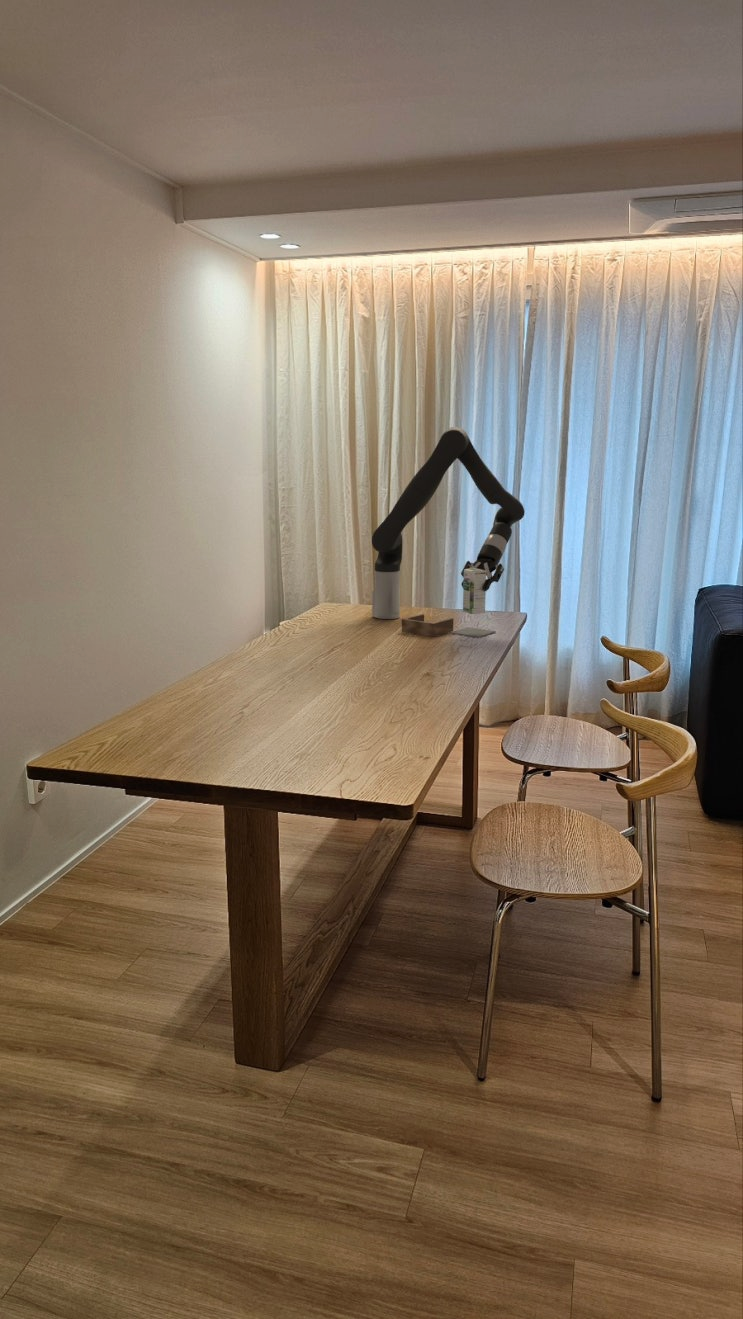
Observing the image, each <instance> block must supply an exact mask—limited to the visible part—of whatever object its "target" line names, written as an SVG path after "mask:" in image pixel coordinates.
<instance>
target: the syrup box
mask: <svg viewBox="0 0 743 1319" xmlns="http://www.w3.org/2000/svg"><path fill="white" fill-rule="evenodd" d="M486 579H487V575H486V570H480V569H475V568H473V567H472V568H471V569H464V578H463V580H464V583H463V587H462V589H463V592H462V612H463V613H467V614H470V615H476V614H477V615H478V614H484V613H486V595H487V593H486V592H487V591H483V589H482V587H483V585H484V583H485V581H486Z"/></svg>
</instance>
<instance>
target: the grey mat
mask: <svg viewBox="0 0 743 1319" xmlns="http://www.w3.org/2000/svg"><path fill="white" fill-rule="evenodd" d="M496 632H497V631H496V630H490V629H485V628H484V629H482V628H477V627H476V628H475V627H469V626H468V627H464V628H461V629H457V630H453V632H450V634H451V633H452V634H451V635H455V634H459V635H458V636H462V635H465V636H464V637H469V636H471V637H470V638H475V637H477V639H480V638H483V637H486V635H487V636H489V634H490V635H492V634H495V633H496ZM479 637H480V638H479Z"/></svg>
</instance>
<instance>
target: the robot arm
mask: <svg viewBox="0 0 743 1319" xmlns="http://www.w3.org/2000/svg"><path fill="white" fill-rule="evenodd" d="M436 444H437V445H436V446H435V448H434V450H433V451H432V453H431V455H430V457H429V458H428V459H427V461H426V462H425V463H424V464H423V465H422V466H421V467H420V469H419V470H417V472H416V473H415V475H414V476H413V477H412V479H411V481H410V482H409V483H408V484H407V486H406V487H405V488H404V491H403V492H402V494H401V495H400V497H399V498H398V499H397V501H396V503H395V504H394V505H393V508H392V510H391V511H390V512H389V514H388V515H387V516H386V518H385V519H384V520H382V522H381V524H380V525H379V526H378V527H376V529H375V531H374V532H373V534H372V537H371V545H372V548H373V549H374V550H375V551H376V552H378V553H377V558H376V561H375V562H374V590H372V595H371V596H372V597H371V601H372V602H371V606H372V607H371V611H372V612H371V613H372V614H371V616H372V617H374V618H376V619H380V620H395V619H399V618H400V617H401V616H400V606H401V604H400V603H401V602H400V601H401V599H400V598H401V596H400V595H401V592H400V591H401V590H400V588H401V580H400V579H401V564H402V560H403V535H402V532H403V530H404V529H405V528H406V526H407V525H409V523H410V522H411V521H412V520H413V519H414V518H415V517H416V516H417V515H419V513H420V512H421V511H422V510H423V509H424V508H425V507H426V506H427V504H428V503H429V502H430V500H431V498H432V497H433V496H434V494H435V493H436V491H438V490H437V489H438V487H439V486H440V484H441V482H442V480H443V478H444V475H446V473H447V471H448V469H450V467H451V466H452V464H454V462H455V461H456V460H457V459H458V461H459V462H460V463H461V464H462V465H463V467H464V468H465V469H466V471H467V472H468V474H469V476H470V478H471V479H472V481H473V482H474V484H475V486H476V487H477V490H478V491H479V492H480V493H481V494H482V496H483V497H484V498H485V500H486V501H487V502H488V503H489V504H491V505H499V506H500V508H499V509H498V510H497V511H496V513H495V515H494V518H493V524H492V525H493V526H492V528H491V529H490V532H489V534H488V536H487V537H486V539H485V540H484V542H483V544H482V546H481V548H480V550H479V553H478V554H477V557H476V560H475V561H474V562H471V561H470V560H467V561H466V563H464V564H465V565H464V566H463V568H462V571H461V572H460V575H461V576H462V578H463V580H462V582H461V587H462V588H463V583H464V569H471V568H475V569H480V570H486V581H485V583H484V585H483V587H482V589H483V591H486V592H487V591H488V590H490V588H491V586H492V583H494V582H495V583H498V582H499V581H500V580H501V577H502V575H503V573H504V571H505V568H504V566H503V564H502V563H500V561H501V559H502V557H503V555H504V553H505V551H506V548H507V545H508V543H509V540H511V537H512V534H513V533H512V532H513V531H512V528H511V527H512V525H514V524H516V523H518V522H519V521H520V520H522V519H523V518H524V516H525V508H524V505H523V504H522V503H521V501H520V500H519V499H518V498H516V496H514V495H513V494H512V493H510V492H509V491H507V490H506V489H505V488H504V486H503V485H502V484H501V483H500V482H499V479H498V478H497V477H496V475H494V474H493V472H492V471H491V470H490V468H489V467H488V466H487V465H486V463H485V462H484V461H483V459H482V458H481V456H480V455H479V453H478V452H477V450H476V449H475V447H474V445H473V443H472V441H471V439H470V438H469V436H468V434H467V432H466V431H465V430H464V429H463V428H462V427H459V426H452V427H450V428H448V429H446V430H445V431H444V432H443V433H442V435H441V436H440V438H439V441H438V443H436ZM494 571H495V572H494ZM493 572H494V573H493Z"/></svg>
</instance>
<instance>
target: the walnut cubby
mask: <svg viewBox="0 0 743 1319" xmlns="http://www.w3.org/2000/svg"><path fill="white" fill-rule="evenodd" d="M451 631H454V618H453V617H450V618H446V619H442V620H439V621H435V622H428V621H425V613H420V614H417V615H413V616H408V617H405V618H402V619H401V633H404V632H405V633H404V634H410V633H411V635H417V636H423V635H424V636H425V637H429V636H431V638H435V636H436V637H438V635H439V636H442V635H446V634H448V632H449V633H451ZM445 633H446V634H445ZM424 636H423V637H424Z"/></svg>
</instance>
